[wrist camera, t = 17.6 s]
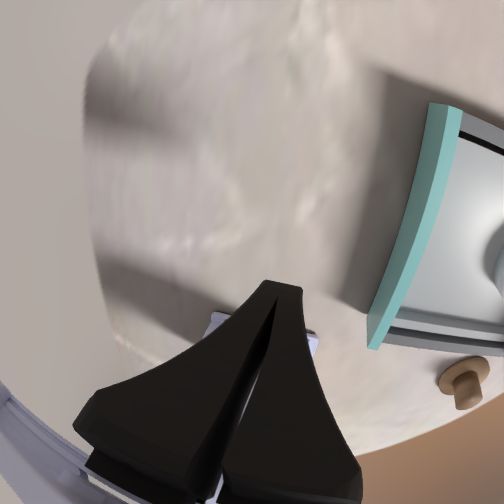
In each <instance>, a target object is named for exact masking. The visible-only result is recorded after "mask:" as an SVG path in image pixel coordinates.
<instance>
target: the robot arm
mask: <svg viewBox="0 0 504 504" xmlns="http://www.w3.org/2000/svg"><path fill="white" fill-rule="evenodd" d="M302 296H303V290H302V288H301V287H298V286H294V285H289V284H284V283H280V282H275V281H270V280H264V281H263V282H262V283H261V284H260V286H259V287H258V288H257V289H256V290H255V292H254V293H253V294H252V295H251V296H250V297H249V298H248V299H247V300H246V301H245V302H244V303H243V304H242V305H241V306H240V307H239V308H238V309H237V310H236V311H235V312H234V313H233V314H232V315H227V314H223V313H220V312H213V313H212V315H211V323H210V325H209V326H208V328H207V330H206V332H205V334H204V336H203V337H202V339H201V340H200V341H199V342H198V343H196V344H195V345H193V346H192V347H190V348H189V349H187V350H186V351H184V352H182V353H181V354H179V355H177V356H176V357H174V358H172V359H171V360H169V361H167V362H165V363H163V364H161V365H159V366H157V367H155V368H153V369H151V370H149V371H147V372H144V373H142V374H140V375H138V376H136V377H133V378H131V379H128V380H126V381H123V382H120V383H117V384H114V385H112V386H109V387H106V388H103V389H100V390H97V391H96V392H95V393H94V395H93V396H92V397H91V398H90V399H89V400H88V402H87V403H86V404H85V406H84V407H83V409H82V410H81V412H80V413H79V415H78V416H77V418H76V419H75V421H74V423H73V428H74V430H75V431H76V432H77V433H78V434H79V435H80V436H81V437H82V438H83V439H85V440H86V441H87V442H88V443H89V444H90V445H92V446H93V447H94V450H93V452H92V453H91V455H88V454H87V453H85V452H84V451H82V450H80V449H79V448H77V447H76V446H75V445H73V444H72V443H70V442H69V441H68V440H66V439H65V438H63V437H62V436H60V435H59V434H58V433H57V432H55V431H54V430H53V429H51V428H50V427H49V426H48V425H46V424H45V423H44V422H43V421H41V420H40V419H39V418H38V417H37V416H35V415H34V414H33V413H32V412H31V411H30V410H28V409H27V408H26V407H25V406H24V405H23V404H22V403H21V402H20V401H18V400H17V399H16V398H15V397H14V396H13V395H12V394H11V392H10V391H9V390H8V389H7V388H6V386H5V385H4V384H3V383H2V382H1V381H0V473H1V475H2V476H3V478H4V479H5V480H6V481H7V483H8V484H9V486H10V487H11V488H12V489H13V491H14V492H15V493H16V494H17V496H18V497H19V498H20V499H21V500H22V502H23V503H24V504H128V503H127V502H125V501H123V500H121V499H120V498H118V497H116V496H114V495H113V494H111V493H109V492H108V491H106V490H104V489H102V488H100V487H98V486H97V485H95V484H93V483H91V482H90V481H89V480H88V475H87V474H89V475H90V476H92V477H94V478H95V479H97V480H99V481H100V482H102V483H103V484H105V485H107V486H108V487H110V488H112V489H114V490H116V491H117V492H119V493H121V494H123V495H125V496H127V497H128V498H130V499H132V500H134V501H137V502H138V503H141V504H361V501H362V497H363V479H362V471H361V467H360V466H359V464H358V462H357V460H356V459H355V457H354V455H353V454H352V452H351V450H350V448H349V447H348V445H347V443H346V441H345V439H344V437H343V435H342V433H341V431H340V429H339V427H338V425H337V423H336V421H335V419H334V416H333V414H332V412H331V410H330V407H329V405H328V403H327V400H326V398H325V395H324V393H323V390H322V387H321V385H320V382H319V379H318V376H317V373H316V370H315V366H314V363H313V359H312V358H313V356H314V353H315V350H316V347H317V345H318V341H319V338H318V336H316V335H314V334H309V333H306V328H305V322H304V315H303V303H302ZM307 338H308V339H307Z"/></svg>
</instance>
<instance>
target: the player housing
mask: <svg viewBox="0 0 504 504" xmlns="http://www.w3.org/2000/svg"><path fill="white" fill-rule="evenodd" d="M460 130H461V131H464V132H466V133H469V134H471V135H474V136H476V137H478V138H481V139H483V140H485V141H487V142H490V143H492V144H494V145H496V146H498V147H500V148H503V149H504V130H502V129H500V128H498V127H496V126H494V125H492V124H490V123H488V122H485V121H483V120H481V119H479V118H476V117H474V116H472V115H469V114H467V113H465V112H462V119H461V124H460ZM382 343H388V344H394V345H401V346H408V347H415V348H422V349H430V350H438V351H446V352H455V353H464V354H474V355H485V356H498V357H504V342H499V341H491V340H482V339H474V338H467V337H459V336H452V335H445V334H438V333H432V332H425V331H419V330H412V329H406V328H400V327H394V326H390V328H389V330H388V332H387V333H386V335H385V337H384V339H383V341H382Z"/></svg>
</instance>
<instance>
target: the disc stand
mask: <svg viewBox="0 0 504 504" xmlns="http://www.w3.org/2000/svg"><path fill="white" fill-rule="evenodd" d="M489 371H490V367H489V364H488V361H487V360H486V359H485V358H482V357H472V358H467V359H464V360H462V361H459V362H457V363H456V364H454V365H452V366H451V367H449V368H448V369H447V370H446V371H445V372H444V373H443V374H442V375H441V377H440V379H439V389H440V391H441V392H442V393H443V394H446V395H454V398H455V405H456V409H458V410H466V409H469V408H472V407H474V406H475V405H477V404H478V403H479V402H480V401H481V400H482V398H483V397H482V392H481V387H480V384H481V383H482V382H483V381H484V380H485V379H486V378H487V376H488V374H489Z"/></svg>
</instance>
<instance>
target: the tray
mask: <svg viewBox="0 0 504 504" xmlns="http://www.w3.org/2000/svg"><path fill="white" fill-rule="evenodd" d="M462 112H463V111H462V110H460V109H457V108H455V107H452V106H449V105H445V104H439V103H433V102H429V107H428V113H427V119H426V125H425V131H424V136H423V141H422V146H421V151H420V155H419V160H418V164H417V168H416V173H415V177H414V181H413V185H412V188H411V192H410V196H409V200H408V203H407V207H406V210H405V213H404V217H403V220H402V223H401V227H400V230H399V233H398V236H397V239H396V242H395V245H394V248H393V251H392V254H391V257H390V259H389V262H388V265H387V268H386V270H385V273H384V276H383V278H382V281H381V283H380V286H379V289H378V291H377V294H376V296H375V298H374V301H373V303H372V306H371V308H370V310H369V313H368V315H367V348H368V349H374V350H378V348H379V346H380V345H381V343H382V341H383V339H384V337H385V335H386V333H387V332H388V330H389V328H390V326H394V327H400V328H406V329H412V330H419V331H425V332H432V333H438V334H445V335H452V336H459V337H467V338H474V339H482V340H491V341H499V342H504V301H503V299H502V297H501V295H500V293H499V291H498V289H497V287H496V286H495V283H494V279H493V271H494V266H495V263H496V260H497V258H498V256H499V254H500V252H501V251H502V249H503V248H504V155H502V154H500V153H498V152H496V151H493V150H491V149H489V148H487V147H484V146H482V145H480V144H477V143H475V142H473V141H470V140H468V139H465V138H462V137H460V136H458V135H459V130H460V124H461V119H462Z"/></svg>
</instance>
